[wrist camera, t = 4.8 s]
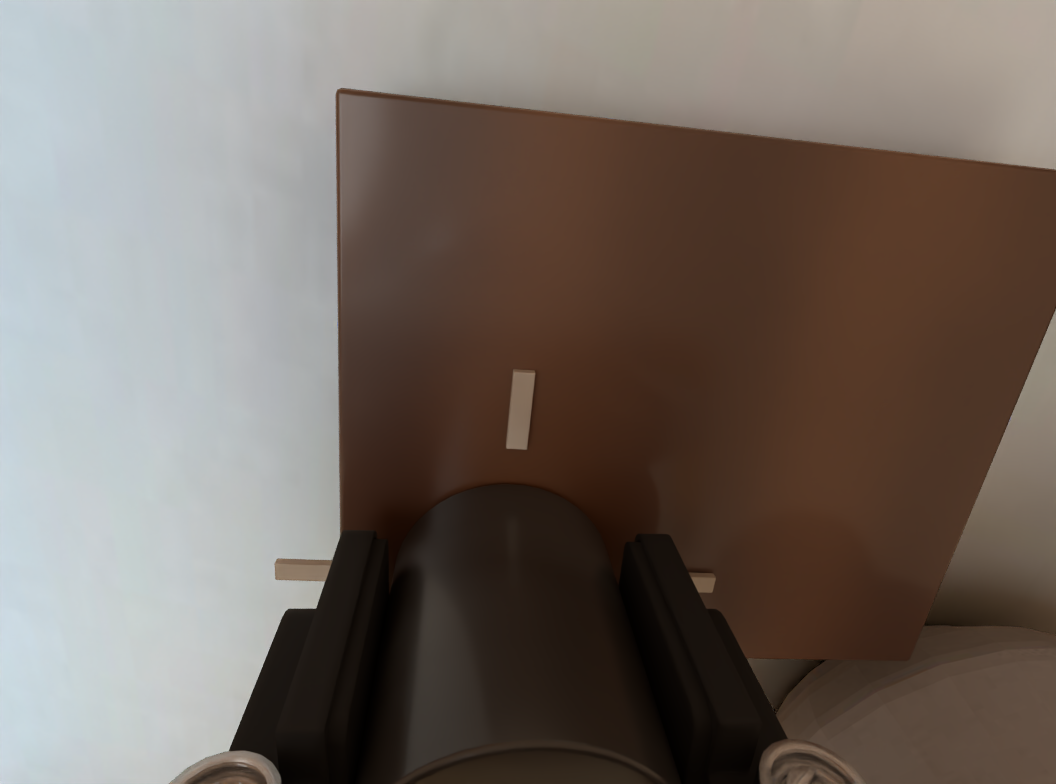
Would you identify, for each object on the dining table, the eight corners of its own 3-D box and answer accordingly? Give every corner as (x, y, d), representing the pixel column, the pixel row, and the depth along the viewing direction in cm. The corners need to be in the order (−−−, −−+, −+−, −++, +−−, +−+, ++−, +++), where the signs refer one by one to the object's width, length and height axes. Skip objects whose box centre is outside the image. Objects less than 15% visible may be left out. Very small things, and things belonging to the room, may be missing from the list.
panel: (319, 626, 16) (284, 738, 13) (305, 92, 11) (246, 76, 8) (814, 637, 17) (885, 740, 14) (974, 167, 13) (1123, 176, 10)
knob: (394, 657, 12) (338, 1021, 7) (394, 478, 11) (325, 778, 6) (594, 657, 13) (674, 1002, 8) (621, 485, 11) (741, 770, 6)
